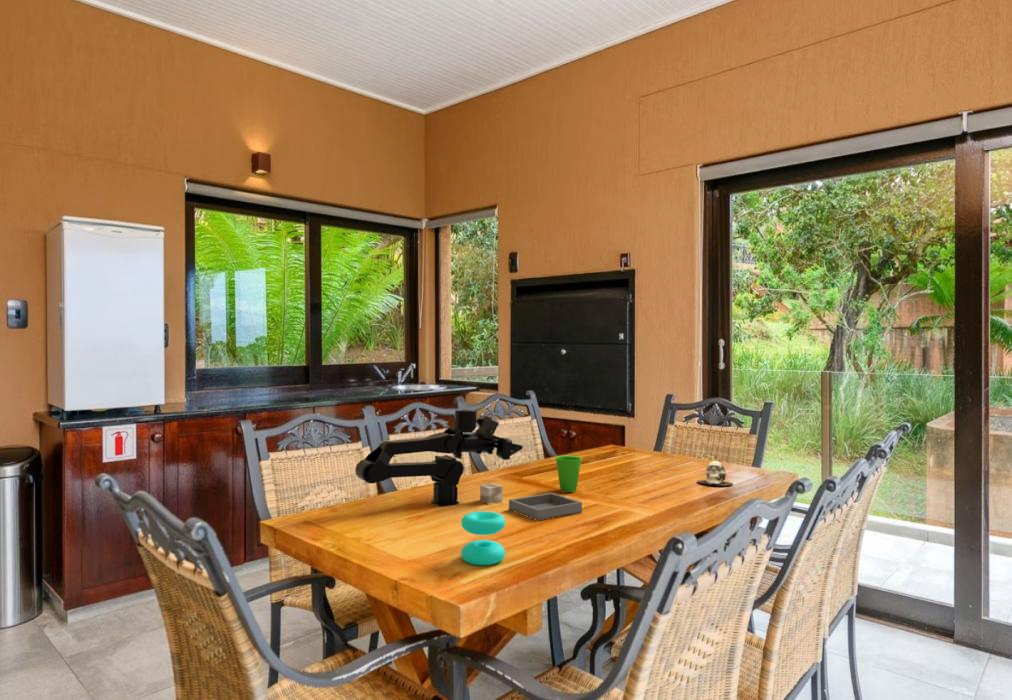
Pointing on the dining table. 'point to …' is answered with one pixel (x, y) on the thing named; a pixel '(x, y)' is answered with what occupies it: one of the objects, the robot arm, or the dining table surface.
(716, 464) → the skull
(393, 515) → the dining table surface
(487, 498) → the block
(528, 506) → the tray
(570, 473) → the cup
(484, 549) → the donuts
